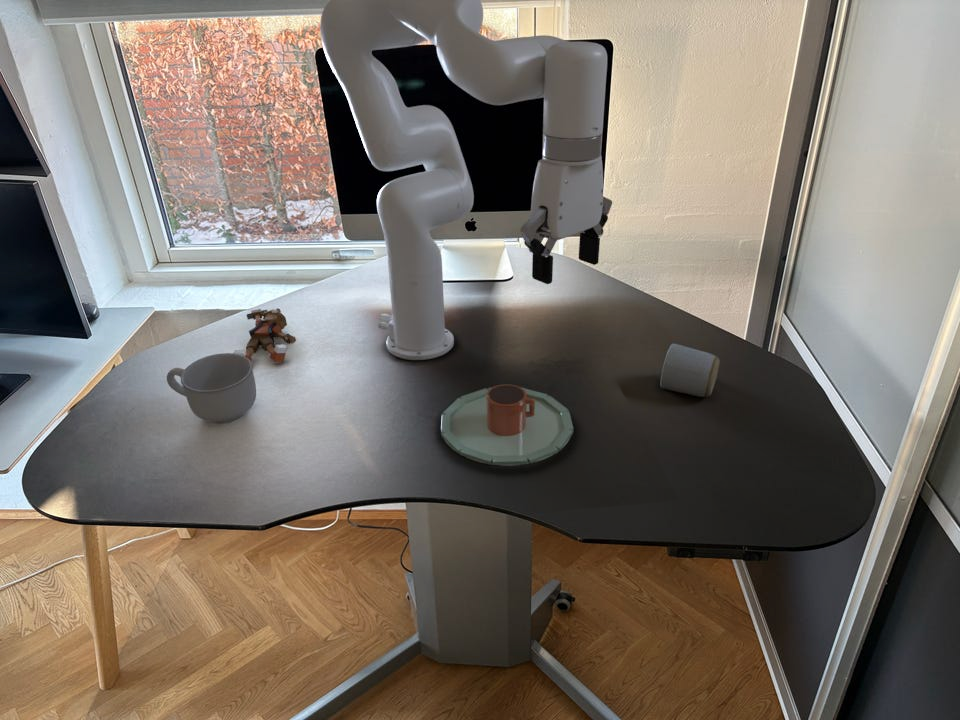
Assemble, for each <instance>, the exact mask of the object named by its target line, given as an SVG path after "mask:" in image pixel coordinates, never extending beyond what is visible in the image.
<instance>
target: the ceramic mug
mask: <svg viewBox="0 0 960 720" xmlns="http://www.w3.org/2000/svg"><path fill="white" fill-rule="evenodd" d="M719 369H720V358H719V357H718V356H717V355H714V354H712V353H710V352H707V351H702V350H700V349H699V350H698V349H695V348H692V347H688V346H685V345H681V344H677V343H671V344H670V346H669V348H668V350H667V352H666V355H665V358H664V361H663V365H662V370H661V375H660V383H659V387H660V388H661V389H664V390H668V391H672V392H676V393H680V394H687V395H690V396H694V397H699V398H708V397H710V396H711V395H712V394H713V393H712V392H713V390H714V388H715V384H716V380H717V378H718V375H719V374H718V373H719Z"/></svg>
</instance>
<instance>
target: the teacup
mask: <svg viewBox="0 0 960 720" xmlns="http://www.w3.org/2000/svg"><path fill="white" fill-rule="evenodd" d="M233 353H234V352H233ZM233 353H232V352H231V353H230V352H223V353H214V354H211V355H207V356H203V357H201V358H198V359H197V360H195V361H193V362H191V364H190V365H188V366H187V367H186V368H185V369H184V368H182V367H173V368H171V369H170V370H169V371H168V372H167V374H166V382H167V385H168V387H170V388H171V389H172V390H173V391H174V392H176V393H177V394H179V395H181V396H183V397H185V398H186V400H187V404H188V405H189V408H190V410H191V411H192V413H193V414H194V415H195V416H196V417H198V418H199V419H200V420H201V419H202V420H204V421H206V422H207V421H208V422H212V423H228V422H232V421H235V420H237V419H239V418H240V417H242V416H243V415H245V414H246V413H247V412H248V411H249V410H250V409H251V408H252V407H253V405H254V403H255V401H256V398H257V385H256V380H255V379H256V378H255V374H254V369H253V368H254V366H253V362H252V361H250V360H249V359H248V358H246V357H244V356H242V355H239V354H233ZM175 376H177V377H180V382H178V381H177V380H176V378H175ZM180 383H181V384H180Z"/></svg>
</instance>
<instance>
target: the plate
mask: <svg viewBox="0 0 960 720" xmlns="http://www.w3.org/2000/svg"><path fill="white" fill-rule="evenodd" d="M491 388H492V387H487V388H486V387H485V388H483V389H482V388H481V389H479V390H476V391H473V392H470V393H467V394H464V395H461V396H460V397H458V398H456V399H455V400H454V401H453V402H452V403H451V404H450V405H449V406H447V408H446V409H444V411H443V412H442V413H441V420H440V422H441V423H440V436H441V438H442V439H443V440H444V442H445V443H446V444H447V445H448V447H450V448H451V449H452V451H454V452H456V453H457V455H459V456H461V457H465V458H467V459H469V460H472V461H475V462H478V463H482V464H487V465H489V466H490V465H492V466H509V467H510V466H521V465H529V464H533V463H537V462H540V461H543V460H545V459H547V458H549V457H552V456H553V455H555V454H557V453H559V452H560V451H562V449H563V448H564V447H565V446H566V445H567V444H568V443H569V441H570V439H571V437H572V436H573V435H574V425H573V420H572V416H571V412H570V410H569V409H568V408H567V407H566V406H564V405H563V404H562V403H560V402H559V401H558V400H557V399H555V398H554V397H552V396H551V395H549V394H548V393H543V392H539V391H536V390H533V389H528V388H526V387H521V388H522V389H524V390H525V392H526V394H527V398H532V399H534V400H535V414H534V416H532V417H526V428H525V429H524V430H523V431H522V432H521V433H519V434H516V435H512V436H501V435H497V434H494V433H492V432H491V431H490V430H489V429H488V428H487V405H486V394H487V392H488V390H489V389H491ZM526 412H529V404H527V406H526Z"/></svg>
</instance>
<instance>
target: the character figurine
mask: <svg viewBox="0 0 960 720" xmlns="http://www.w3.org/2000/svg"><path fill="white" fill-rule="evenodd" d="M246 318H247V320H248V321H249V320H253V321H254V320H255V324H254V325H255V326H254V327H253V328H252V329H249V330H248V333H249V336H250V339H249V340H248V342H247V344H246V346H245V349H235V350H234V351H233V354H239V355H242V356H244V357H246V358H248V359H249V360H250V361H251V362H252V356H253V355H254V354H257V352H258V351H259V349H260V347H261V348H262V349H263V350H264V351H265V352H267V353H268V354H269V358H270V360H272V361H273V362H274V364H275V363H277V364H278V363H279V364H280V363H284V362H285V359H286V358H285V357H286V354H287V350H288V347H287V346H286V345H285V344H275V339H279V338H280V339H281V340H283V342H284V343H286V344H287V345H290V344H295V342H297V339H296V336H294V335H292V334H290V333H284V332H282V331H283V330H284V329H285V327H286V326H288V323H287V317H286V316H284V314H282V311H281V309H280V308H278V307H277V308H276V309H269V310H268V309H260V308H258V309H253V310H251V312H250V313H246Z"/></svg>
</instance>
